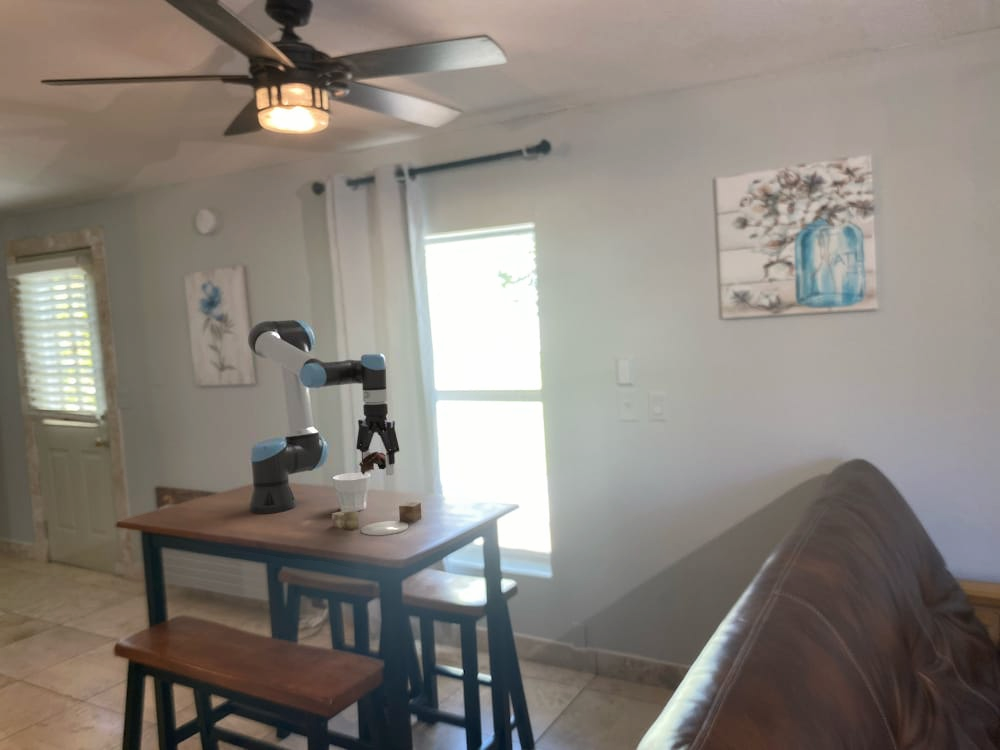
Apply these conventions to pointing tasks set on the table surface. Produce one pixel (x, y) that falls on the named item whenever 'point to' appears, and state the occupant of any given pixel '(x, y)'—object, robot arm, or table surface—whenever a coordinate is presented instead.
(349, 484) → the cup
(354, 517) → the oak dowel offcut
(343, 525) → the maple block
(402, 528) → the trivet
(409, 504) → the walnut block
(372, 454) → the pottery mug
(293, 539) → the table surface
